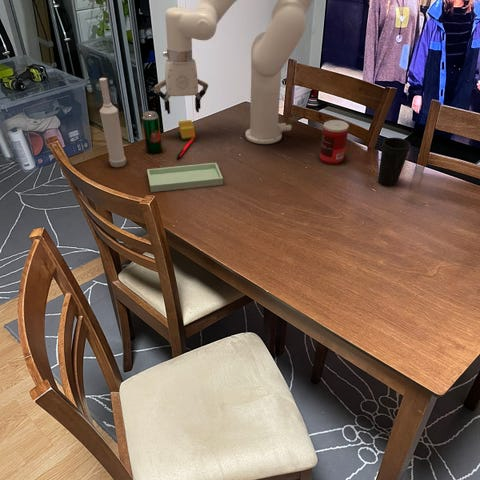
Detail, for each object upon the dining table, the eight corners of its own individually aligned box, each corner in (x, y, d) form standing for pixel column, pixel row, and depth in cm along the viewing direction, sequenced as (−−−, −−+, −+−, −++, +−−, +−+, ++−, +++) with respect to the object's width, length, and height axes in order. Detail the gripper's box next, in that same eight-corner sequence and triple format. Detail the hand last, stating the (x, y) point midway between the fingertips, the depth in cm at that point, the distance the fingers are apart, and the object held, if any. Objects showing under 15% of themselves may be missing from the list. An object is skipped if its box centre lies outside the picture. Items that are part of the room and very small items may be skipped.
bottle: (117, 169, 148) (102, 83, 130) (106, 164, 150) (89, 79, 133) (130, 163, 151) (116, 78, 133) (118, 158, 153) (103, 74, 136)
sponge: (192, 131, 168) (191, 119, 165) (195, 139, 163) (194, 127, 160) (179, 132, 168) (178, 121, 165) (182, 140, 163) (181, 129, 160)
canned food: (344, 155, 156) (350, 121, 148) (341, 166, 150) (347, 131, 143) (321, 152, 157) (325, 118, 150) (317, 162, 152) (321, 128, 144)
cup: (381, 173, 147) (390, 135, 138) (404, 181, 143) (415, 142, 135) (369, 182, 143) (378, 143, 134) (393, 191, 139) (403, 151, 131)
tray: (216, 168, 148) (216, 162, 147) (223, 184, 141) (222, 178, 140) (147, 175, 145) (147, 169, 143) (151, 192, 138) (150, 185, 136)
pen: (175, 160, 152) (175, 156, 151) (194, 135, 165) (194, 132, 165) (178, 160, 152) (178, 156, 151) (197, 136, 165) (197, 133, 165)
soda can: (153, 155, 155) (148, 118, 146) (143, 150, 157) (138, 113, 149) (165, 150, 157) (161, 113, 149) (155, 146, 160) (150, 109, 151)
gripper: (153, 59, 144) (158, 117, 156) (209, 58, 147) (210, 114, 159) (150, 52, 149) (155, 108, 161) (205, 50, 152) (206, 106, 164)
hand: (182, 111), depth 160 cm, fingers open, 9 cm apart
